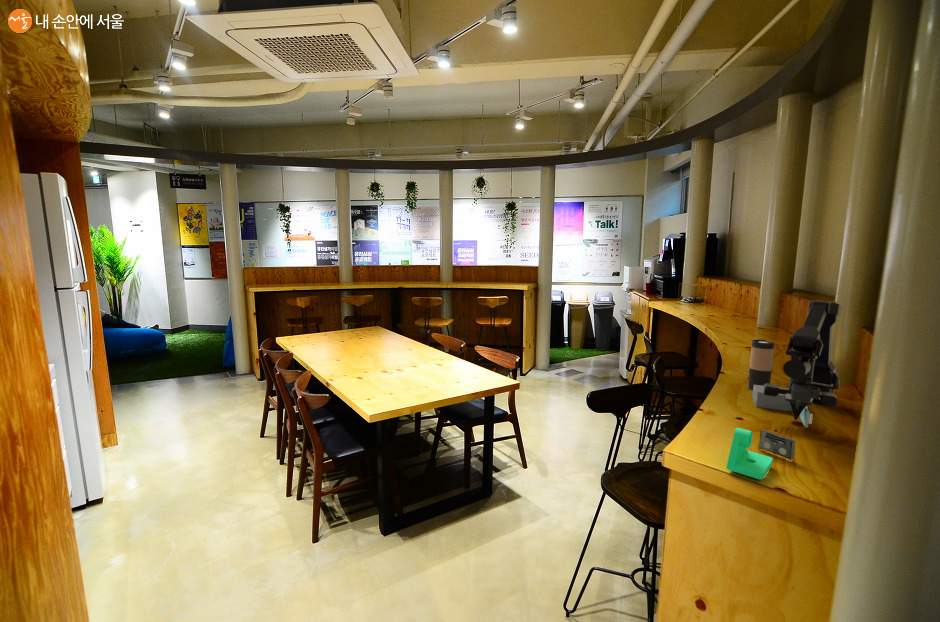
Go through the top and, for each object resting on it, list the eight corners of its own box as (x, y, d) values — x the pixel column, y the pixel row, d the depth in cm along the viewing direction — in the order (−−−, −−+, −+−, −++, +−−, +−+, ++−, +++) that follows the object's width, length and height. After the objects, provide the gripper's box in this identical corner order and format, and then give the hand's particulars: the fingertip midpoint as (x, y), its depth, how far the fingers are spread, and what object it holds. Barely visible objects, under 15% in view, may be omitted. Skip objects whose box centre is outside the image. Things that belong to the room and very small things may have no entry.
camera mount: (761, 484, 106) (765, 444, 104) (726, 473, 111) (729, 434, 110) (772, 467, 114) (776, 429, 113) (739, 457, 119) (742, 421, 118)
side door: (797, 411, 153) (798, 397, 152) (803, 412, 152) (805, 397, 151) (804, 427, 139) (806, 411, 138) (811, 428, 138) (813, 412, 137)
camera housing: (798, 404, 161) (799, 389, 160) (805, 413, 152) (806, 398, 151) (752, 398, 167) (753, 384, 167) (756, 406, 158) (757, 392, 158)
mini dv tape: (793, 461, 117) (795, 440, 116) (790, 462, 116) (792, 441, 116) (761, 449, 124) (763, 429, 124) (758, 450, 124) (760, 429, 123)
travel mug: (749, 390, 177) (754, 342, 174) (745, 385, 184) (750, 338, 181) (772, 393, 174) (777, 343, 171) (767, 387, 181) (772, 340, 178)
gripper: (767, 373, 138) (761, 421, 140) (844, 384, 128) (836, 435, 130) (766, 366, 147) (760, 410, 149) (837, 375, 137) (830, 423, 139)
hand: (795, 419), depth 142 cm, fingers closed
